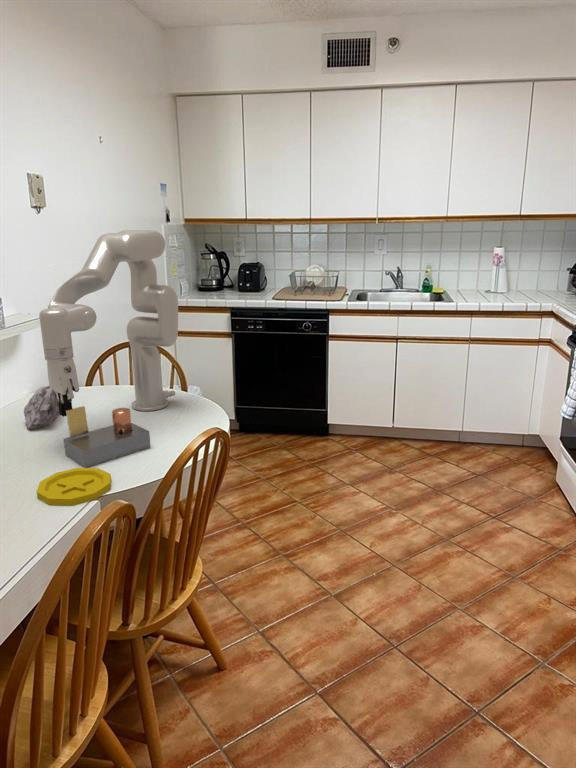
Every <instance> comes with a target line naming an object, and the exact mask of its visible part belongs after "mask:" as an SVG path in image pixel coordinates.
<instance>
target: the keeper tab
mask: <svg viewBox="0 0 576 768" xmlns="http://www.w3.org/2000/svg"><path fill="white" fill-rule="evenodd" d="M85 407H86V406H84V405H82V406H79V407H72V409H69V410H66V414H67V416H66V419H67V425H68V426H67V427H68V431H69V437H75V436H78V435H82V434H86V433H88V432H90V431H89V425H88V420H87V419H88V418H87V412H86V408H85Z"/></svg>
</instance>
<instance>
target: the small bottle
mask: <svg viewBox="0 0 576 768" xmlns="http://www.w3.org/2000/svg"><path fill="white" fill-rule="evenodd" d="M111 416H112V425H113V427H114V432H115V433H119V434H122V433H127V432H130V431H131V430H132V426H131V423H132V417H131V409H130V408H128V407H118V408H115V409H114V408H113V410H111Z"/></svg>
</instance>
